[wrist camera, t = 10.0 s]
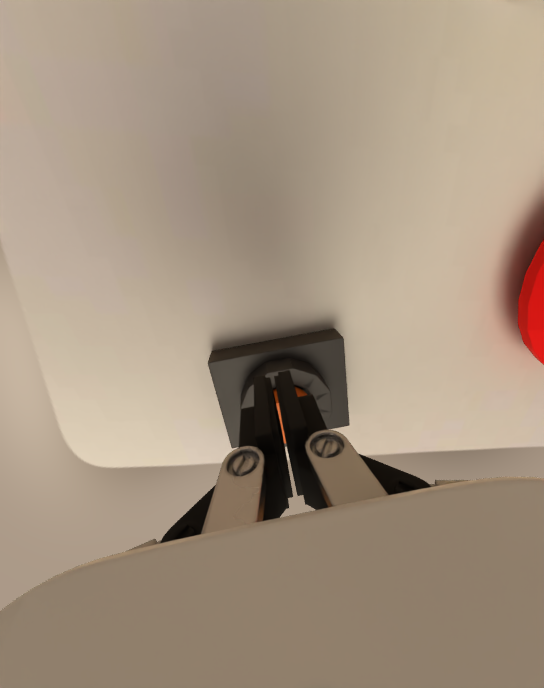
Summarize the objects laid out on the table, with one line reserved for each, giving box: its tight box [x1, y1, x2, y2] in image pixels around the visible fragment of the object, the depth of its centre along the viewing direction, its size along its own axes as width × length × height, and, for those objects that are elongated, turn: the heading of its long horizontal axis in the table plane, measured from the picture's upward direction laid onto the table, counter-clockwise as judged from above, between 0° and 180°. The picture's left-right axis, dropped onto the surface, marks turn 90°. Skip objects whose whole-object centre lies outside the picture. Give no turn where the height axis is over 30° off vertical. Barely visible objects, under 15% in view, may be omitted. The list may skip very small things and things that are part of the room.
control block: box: [208, 329, 349, 448], centre depth 21 cm, size 10×8×4 cm
